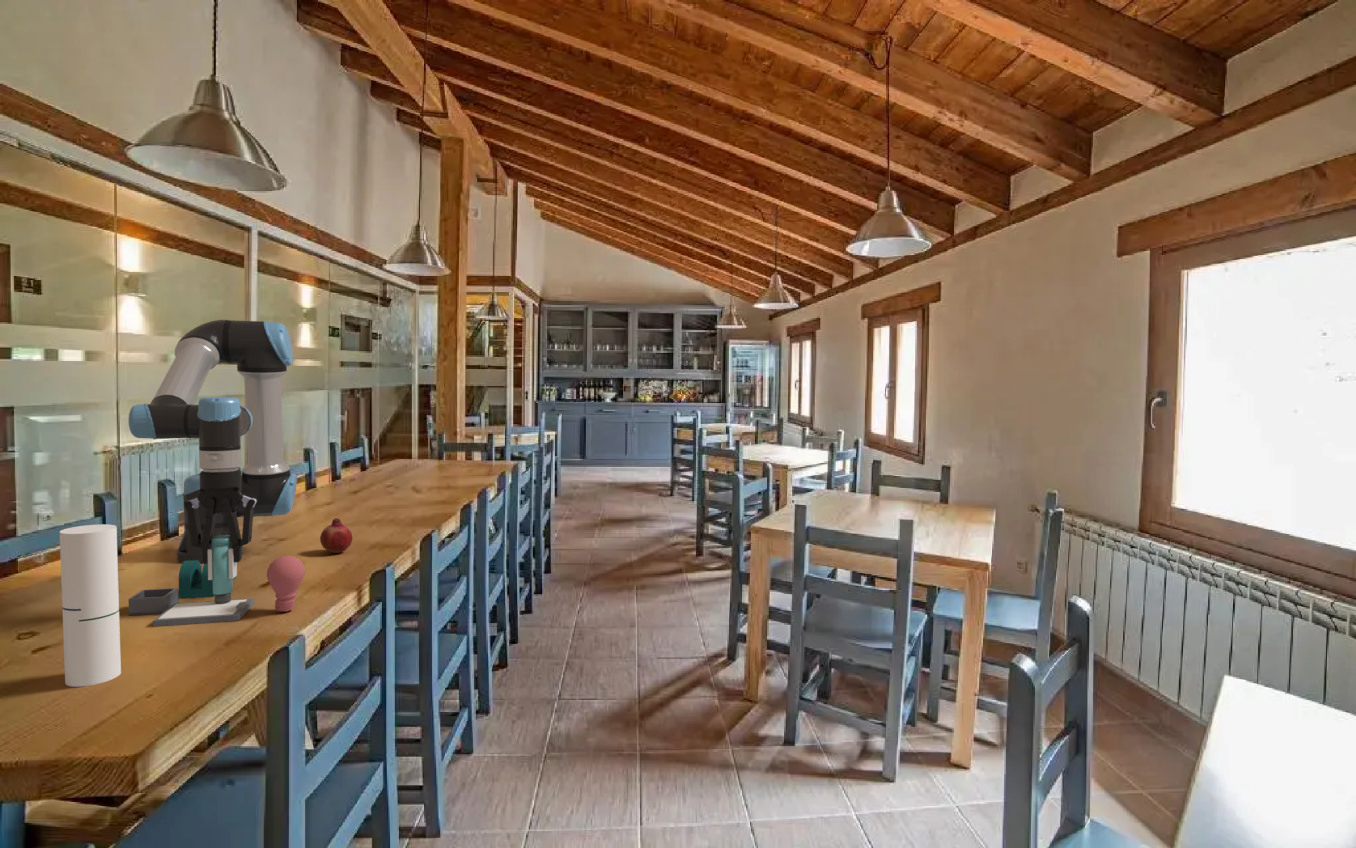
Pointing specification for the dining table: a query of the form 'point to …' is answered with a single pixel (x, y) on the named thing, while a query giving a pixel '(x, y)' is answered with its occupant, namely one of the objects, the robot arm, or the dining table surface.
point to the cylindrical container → (90, 604)
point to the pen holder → (152, 601)
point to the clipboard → (204, 612)
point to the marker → (221, 568)
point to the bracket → (194, 581)
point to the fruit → (336, 537)
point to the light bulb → (285, 580)
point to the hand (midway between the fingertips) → (222, 577)
